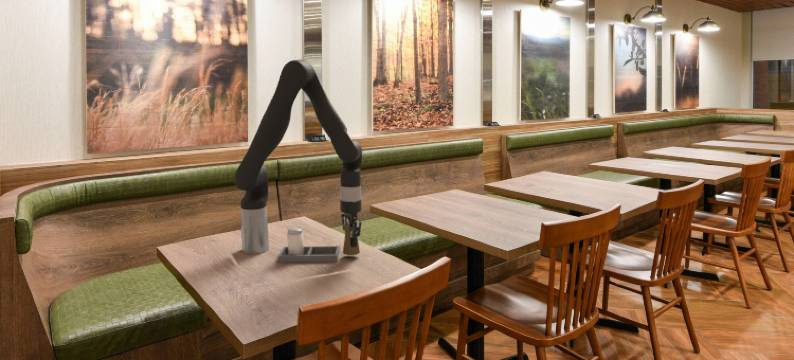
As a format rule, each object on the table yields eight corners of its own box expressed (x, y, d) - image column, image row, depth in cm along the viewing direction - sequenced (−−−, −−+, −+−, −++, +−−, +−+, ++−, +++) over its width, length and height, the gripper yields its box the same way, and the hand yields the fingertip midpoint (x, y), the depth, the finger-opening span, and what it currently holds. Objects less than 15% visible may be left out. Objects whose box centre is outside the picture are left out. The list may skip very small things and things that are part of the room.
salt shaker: (290, 260, 191) (289, 232, 189) (286, 255, 196) (285, 228, 194) (306, 258, 194) (305, 230, 192) (301, 253, 199) (300, 226, 197)
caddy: (278, 264, 190) (278, 256, 189) (284, 254, 200) (283, 246, 200) (337, 263, 190) (337, 255, 190) (339, 253, 201) (339, 246, 200)
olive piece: (357, 255, 191) (357, 225, 189) (340, 254, 192) (340, 224, 190) (361, 250, 197) (361, 220, 195) (345, 249, 198) (345, 219, 196)
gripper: (333, 195, 195) (334, 240, 199) (348, 203, 183) (348, 252, 186) (353, 193, 199) (353, 238, 202) (368, 201, 186) (368, 249, 189)
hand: (351, 244), depth 194 cm, fingers closed on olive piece, 4 cm apart
